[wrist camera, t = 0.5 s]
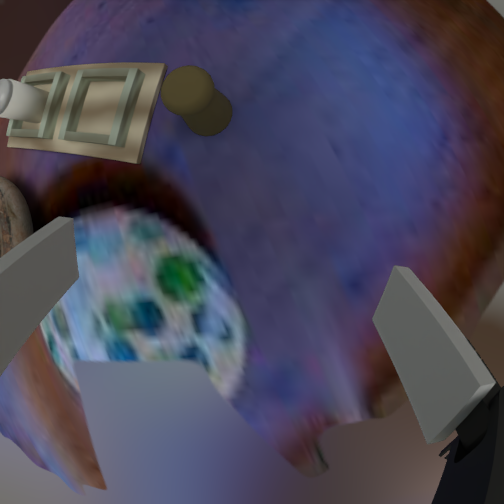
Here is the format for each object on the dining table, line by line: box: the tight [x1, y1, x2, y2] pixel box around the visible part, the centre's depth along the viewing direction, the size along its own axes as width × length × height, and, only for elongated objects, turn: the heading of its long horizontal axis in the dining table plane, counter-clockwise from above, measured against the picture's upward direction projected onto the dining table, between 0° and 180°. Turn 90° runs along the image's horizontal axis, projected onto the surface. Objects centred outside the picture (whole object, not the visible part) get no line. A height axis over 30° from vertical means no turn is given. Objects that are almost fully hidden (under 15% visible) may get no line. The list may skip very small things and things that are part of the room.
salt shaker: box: [0, 79, 49, 124], centre depth 29 cm, size 6×6×10 cm
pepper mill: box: [161, 65, 232, 136], centre depth 28 cm, size 6×6×11 cm
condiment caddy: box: [6, 63, 168, 164], centre depth 33 cm, size 14×29×4 cm, turn 76°
